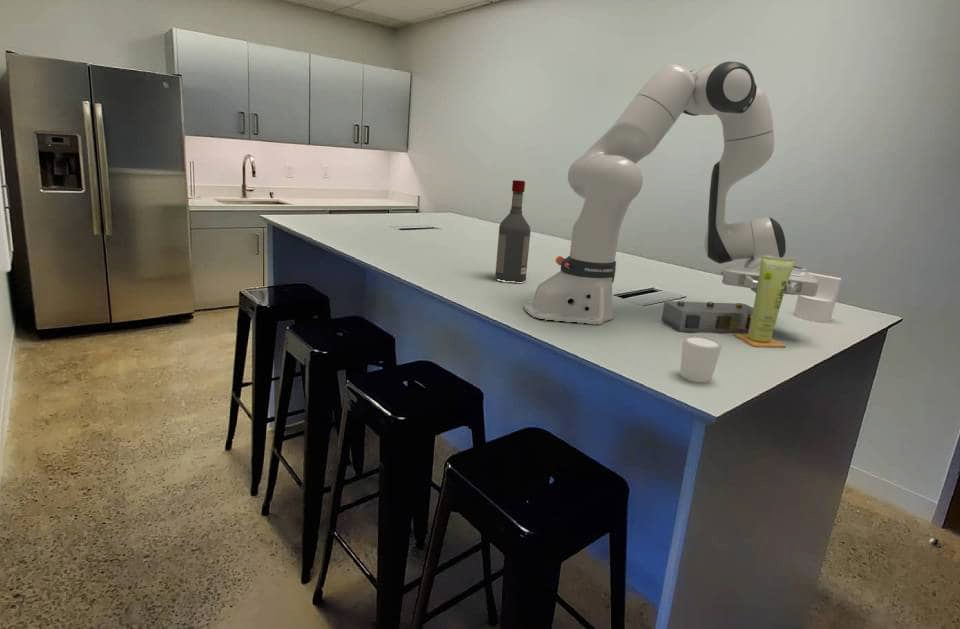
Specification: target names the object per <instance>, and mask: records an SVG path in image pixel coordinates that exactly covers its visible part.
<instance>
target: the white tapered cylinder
mask: <svg viewBox="0 0 960 629" xmlns="http://www.w3.org/2000/svg"><path fill="white" fill-rule="evenodd" d="M721 349H722V344H721V343H720V342H718V341H716V340H714V339H710V338H707V337H701V336H684V337H683V338H682V349H681V359H680V360H681V361H680V371H679V373H680V377H682V378H684V379H685V380H688V381H689V382H690V381H691V382H696V383H706V384H707V383H710V382H711V381H712V380H713V376H714V373H715V369H716V366H717V364H718V360H719V357H720V354H721Z"/></svg>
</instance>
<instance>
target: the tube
mask: <svg viewBox="0 0 960 629" xmlns="http://www.w3.org/2000/svg"><path fill="white" fill-rule="evenodd" d="M796 260H797V259H796V258H789V257H788V258H786V257H783V258H777V257H767V256H762V258H761V266H760V273H759V280H758V287H757V291H756V293H755V298H754V303H753V307H752V308H753V312H752V317H751V322H750V327H749V331H748V333H747V334H748V337H749V338H750V339H752V340H755V341H760V342H769V341H770V340H771V338H772V336H773V332H774V329H775V325H776V322H777V318H778V315H779V312H780V308H781V305H782V301H783V298H784V295H785V294H784V292H785V289H786V285H787V283H788V280H789V277H790V275H791V272H792V269H793V266H795V264H796V262H797V261H796Z"/></svg>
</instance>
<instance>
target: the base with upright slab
mask: <svg viewBox="0 0 960 629" xmlns="http://www.w3.org/2000/svg"><path fill="white" fill-rule="evenodd" d="M808 273H809V274H811V275H813V276H814V277H815V278H816V279H817V280H818V281H819V285H818V290H817V293H816V296H814V297H810V296H804V295H797V299H796V303H795V308H794V312H793V316H794V317H796V318H798V319H800V318H801V320H804V321H809V322H813V321H814V322H813V323H823V324H824V323H825V324H827V323H830V322H831V320H832V316H833V312H834V309H835V305H836V302H837V299H838V298H837V297H838V294H839V291H840V286H841V282H842V278H841V277H837V276H830V275H827V274H826V275H825V274H820V273H814V272H809V271H808Z"/></svg>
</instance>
